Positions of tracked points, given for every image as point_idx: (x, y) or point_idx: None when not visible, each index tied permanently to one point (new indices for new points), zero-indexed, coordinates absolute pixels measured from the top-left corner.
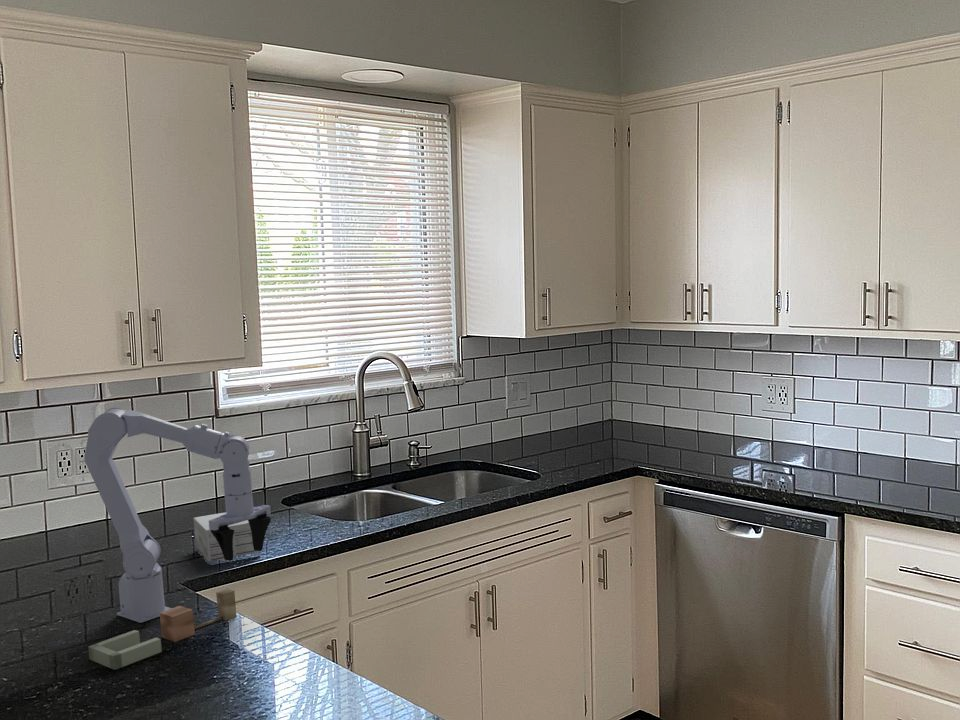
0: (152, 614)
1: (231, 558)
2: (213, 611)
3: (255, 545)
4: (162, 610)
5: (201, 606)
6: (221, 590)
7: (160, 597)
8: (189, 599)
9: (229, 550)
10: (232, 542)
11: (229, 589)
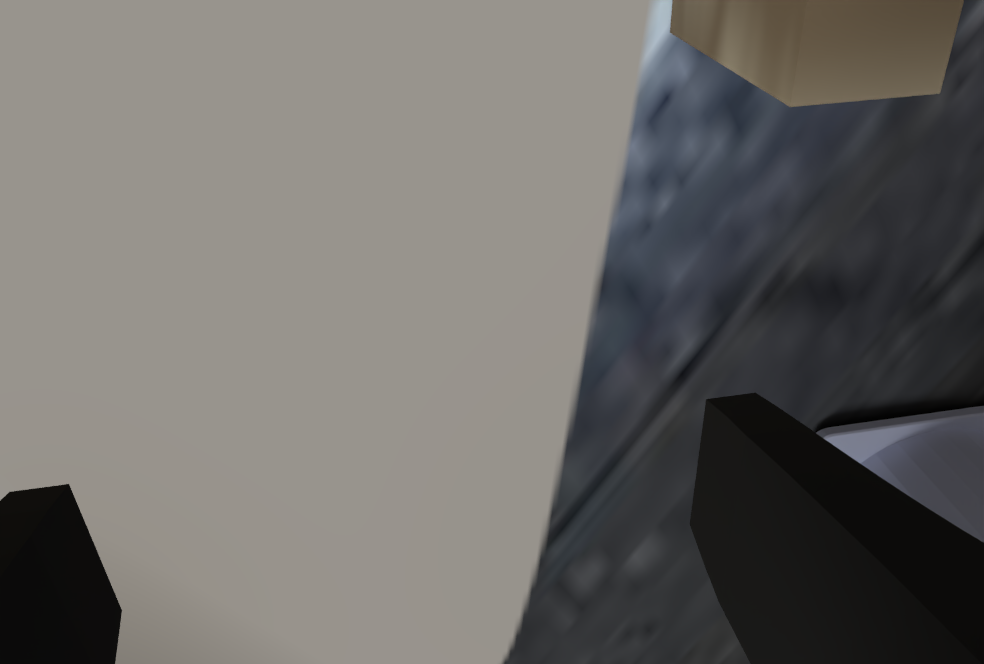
0: (972, 436)
1: (756, 409)
2: (682, 219)
3: (81, 656)
4: (893, 454)
5: (648, 389)
6: (872, 92)
7: (964, 520)
8: (595, 557)
9: (913, 500)
10: (967, 639)
11: (806, 38)
